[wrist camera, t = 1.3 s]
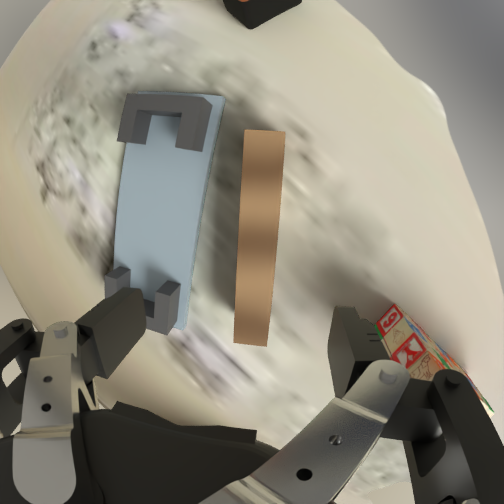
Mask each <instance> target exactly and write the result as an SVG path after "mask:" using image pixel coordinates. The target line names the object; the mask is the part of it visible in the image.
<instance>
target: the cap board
mask: <svg viewBox="0 0 504 504" xmlns="http://www.w3.org/2000/svg"><path fill="white" fill-rule="evenodd" d="M225 100H226V99H225V98H224V97H223V96H215V95H205V94H194V93H180V92H157V91H138V94H127V97H126V101H125V105H124V110H123V114H122V118H121V123H120V128H119V133H118V138H117V141H119V142H126V143H127V144H126V149H125V155H124V161H123V167H122V174H121V181H120V189H119V197H118V207H117V217H116V230H115V246H114V270H112V271H111V272H109V273H108V274H106V275H105V299H106V298H108V297H111V296H112V295H113V294H115V293H116V292H117V291H119V290H120V289H121V288H122V287H124V286H125V287H133V288H139V289H141V291H142V293H143V300H144V307H145V314H146V321H147V324H146V329H149V330H152V331H155V332H158V333H161V334H164V335H168V333H169V332H170V330H171V329H172V328H177V329H180V330H184V328H185V327H186V322H187V313H188V305H189V297H190V290H191V282H192V275H193V268H194V261H195V254H196V248H197V241H198V235H199V229H200V223H201V217H202V211H203V206H204V200H205V195H206V189H207V184H208V179H209V174H210V168H211V163H212V159H213V154H214V149H215V144H216V139H217V135H218V130H219V126H220V121H221V117H222V113H223V108H224V104H225Z"/></svg>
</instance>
